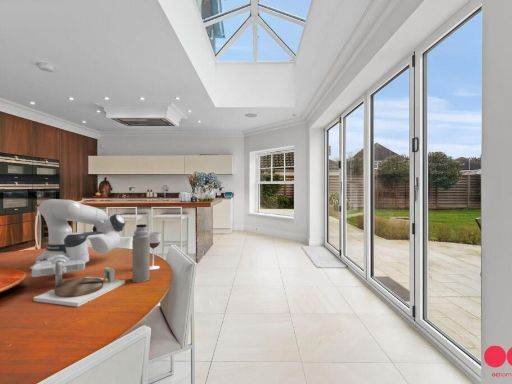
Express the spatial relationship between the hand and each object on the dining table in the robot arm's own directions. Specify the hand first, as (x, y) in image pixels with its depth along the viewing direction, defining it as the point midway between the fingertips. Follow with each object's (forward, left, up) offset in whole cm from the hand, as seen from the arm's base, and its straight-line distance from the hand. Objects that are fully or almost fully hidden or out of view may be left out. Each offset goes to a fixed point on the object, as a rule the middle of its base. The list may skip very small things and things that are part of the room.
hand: (60, 272), depth 123 cm
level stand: (+10, +2, -8) cm, 13 cm away
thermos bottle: (+25, +23, -9) cm, 35 cm away
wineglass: (+19, +43, -9) cm, 47 cm away
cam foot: (+10, +1, -7) cm, 12 cm away
